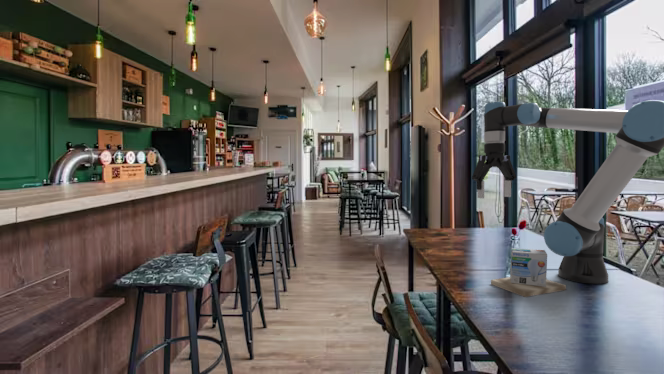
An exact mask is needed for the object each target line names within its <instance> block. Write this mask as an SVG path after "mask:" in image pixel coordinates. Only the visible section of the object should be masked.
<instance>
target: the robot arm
mask: <svg viewBox="0 0 664 374" xmlns="http://www.w3.org/2000/svg"><path fill="white" fill-rule="evenodd" d="M483 117H484V119H483V120H484V121H483V123H484V124H483V125H484V131H483V133H484V141H483V142H484V143H485V144H483V146H484V148H483V150H484V151H483V154H482V155H478V160H477V163H476V166H475V169H474V171H473V174H472V176H471V179H472V180H473V181H474V182H476V191H477V199H485V180H484V179H485V177H486V175H488V172H489V171H490V169H491V168H497V169H499V171H500V172H501V174H502V176H503V178H504V179H505V180H503V190H504V191H503V197H504V198H512V188H513V187H512V186H513V181H515V180H516V179H517V175H516V172H515V169H514V167H513V164H512V162H511V155H510V154H509V155H504V153H505V152H506V143H505V141H506V127H511V126H512V127H514V126H524V127H532V128H538V129H540V128H541V129H542V128H545V129H557V130H573V131H582V132H583V131H585V132H586V131H587V132H595V133H597V132H598V133H608V134H609V133H610V134H611V133H612V134H616V135H615V140H616V144H615V146H614V148H613V149H611V152H610V153H609V154H608V155H607V157H606V159H605V160H604V162H603V163H602V164H601V166H600V167H599V168H598V169H597V171H596V173H595V174H594V175H593V177H592V178H591V179H590V181H589V182H588V184H587V185H586V187H585V188H584V190H583V191H582V192H581V194H580V195H579V197H578V198H577V200H576V201H575V202H574V203H573V205H572V206H571V207H568V208H564V209H563V211H562V212H561V213H560V215H559V216H558V217H557V219H556V220H555V221H552V222H551V223H549V225H547V226H546V228H545V230H544V231H543V239H544V243H545V245H546V246H547V248H548V249H549V250H550V251H551V252H552V253H554V254H555V255H558V256H561V257H562V259H561V262H560V264H559V267H558V270H557V271H558V272H557V273H558V276H559V277H560V278H562V279H564V280H568V281H572V282H577V283H583V284H589V285H590V284H594V285H597V284H598V285H599V284H600V285H601V284H606V283H608V282H609V274H608V273H609V272H608V270H607V268H606V263H605V260H604V240H605V239H604V236H605V218H604V216H605V214H606V213H607V212H608V210H609V208H611V206H612V205H613V203H614V202H615V201H616V199H618V197H619V196H620V194H622V192H623V191H624V189H625V188H626V187H627V185H628V184H629V183H630V181H631V180H632V179H633V177H634V176H635V175H636V173H638V171H639V170H640V168H641V167H642V166H643V164H644V163H645V162H646V160H647V159H648V158H650V157H654V156H657V155H659V153H660V152H661V150H662V149H663V148H664V100H661V99H652V100H651V99H650V100H644V101H640V102H638V103H636V104H634V105H633V106H631V107H630V108H629V109H628V110H624V109H623V110H622V109H620V110H619V109H595V108H593V109H592V108H570V107H569V108H568V107H567V108H565V107H561V108H560V107H540V106H539V105H538V103H536V102H524V103H521V104H520V103H519V104H514V105H513V104H512V105H507V106H506V103H505V102H504V101H492V102H487V103H486V104H485V105H484V113H483ZM484 154H485V155H484Z"/></svg>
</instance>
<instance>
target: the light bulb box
mask: <svg viewBox="0 0 664 374" xmlns="http://www.w3.org/2000/svg"><path fill="white" fill-rule="evenodd" d="M547 268H548V254H547V251H546V250H545V249H533V248H532V249H531V248H520V247H511V252H510V270H509V271H510V276H509V277H510V279H511V283H516V284H525V285H534V286H542V287H546V279H547V274H548V273H547V270H548V269H547Z"/></svg>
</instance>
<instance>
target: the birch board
mask: <svg viewBox="0 0 664 374" xmlns="http://www.w3.org/2000/svg"><path fill="white" fill-rule="evenodd" d="M490 285H492V286H494V287H497V288H501V289H503V290H506V291H508V292H511V293H514V294H515V295H519V296H521V297H524V298H528V297H533V296H538V295H539V296H540V295H543V294H544V295H545V294H551V293H554V292H562V291H566V290H567V287H566V286H567V285H566V284H563V283H560V282H556V281H554V280H549V279H547V278H546V287H542V286H534V285H525V284H516V283H511V279H510V276H508V277H501V278H494V279H491V280H490Z"/></svg>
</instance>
